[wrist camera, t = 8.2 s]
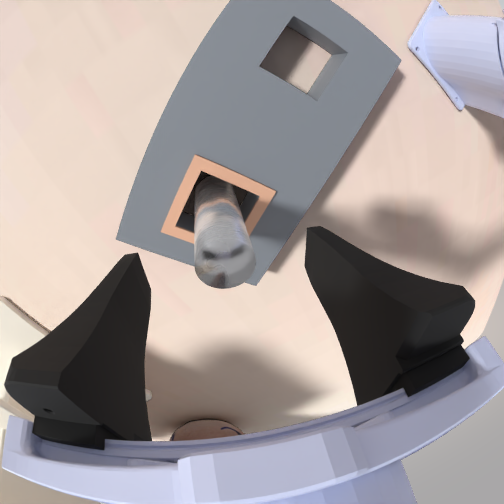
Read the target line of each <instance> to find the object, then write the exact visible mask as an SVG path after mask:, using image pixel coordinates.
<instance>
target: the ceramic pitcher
mask: <svg viewBox="0 0 504 504" xmlns="http://www.w3.org/2000/svg"><path fill="white" fill-rule="evenodd" d="M238 435H244V433H243V432H242V431H241V430H240V429H238V428H237V427H235V426H234V425H231V424H230V423H227V422H224V421H219V420H198V421H191V422H188V423H186V424H185V425H184V426H182V427H180V428H178V429H177V430H176V431H175V432H174V433H173V434H172V437H171V438H170V441H187V440H201V439H213V438H222V437H230V436H238Z"/></svg>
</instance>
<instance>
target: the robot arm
mask: <svg viewBox="0 0 504 504" xmlns="http://www.w3.org/2000/svg"><path fill="white" fill-rule="evenodd" d="M503 13H504V9H503ZM408 47H409V49H410V50H411V51H412V52H413V53H414V54H415V55H416V56H417V58H418V59H419V60H420V61H421V62H422V63H423V64H424V66H425V67H426V68H427V69H428V70H429V71H430V73H431V74H432V75H433V76H434V78H435V79H436V80H437V81H438V83H439V84H440V85H441V87H442V88H443V89H444V91H445V92H446V93H447V95H448V96H449V97H450V99H451V100H452V102H453V103H454V105H455V106H456V107H457V109H459V110H462V109H463V107H464V105H467V106H471V107H474V108H477V109H480V110H483V111H486V112H488V113H491V114H494V115H496V116H499V117H502V118H504V18H501V17H491V16H474V15H449V14H448V13H447V12H446V11H445V9H444V8H443V7H442V6H441V5H440V4H439V2H438V1H436V0H432V1H431V3H430V5H429V6H428V8H427V10H426V12H425V13H424V15H423V17H422V19H421V20H420V22H419V24H418V26H417V27H416V29H415V31H414V32H413V34H412V36H411V37H410V39H409V41H408ZM416 49H417V51H416ZM455 98H456V100H455ZM305 268H306V271H307V274H308V277H309V280H310V282H311V285H312V287H313V289H314V291H315V293H316V294H317V296H318V298H319V300H320V302H321V304H322V306H323V308H324V310H325V311H326V313H327V315H328V317H329V319H330V321H331V323H332V325H333V327H334V330H335V332H336V335H337V337H338V340H339V343H340V346H341V348H342V351H343V354H344V357H345V360H346V364H347V367H348V370H349V374H350V377H351V381H352V385H353V389H354V393H355V397H356V402H357V406H356V407H353V408H350V409H347V410H344V411H341V412H338V413H335V414H332V415H329V416H325V417H322V418H318V419H315V420H311V421H307V422H303V423H299V424H295V425H291V426H287V427H282V428H277V429H273V430H267V431H262V432H257V433H251V434H244V435H238V436H230V437H222V438H213V439H201V440H187V441H152V438H151V432H150V427H149V421H148V413H147V405H146V394H145V374H144V359H145V347H146V339H147V332H148V325H149V317H150V310H151V288H150V285H149V283H148V280H147V277H146V274H145V272H144V269H143V266H142V263H141V260H140V257H139V254H138V253H133V254H127V255H124V256H123V257H122V258H121V259H120V260H119V262H118V263H117V264H116V265H115V266H114V267H113V269H112V270H111V271H110V272H109V273H108V275H107V276H106V277H105V278H104V279H103V280H102V282H101V283H100V284H99V285H98V286H97V287H96V289H95V290H94V291H93V292H92V293H91V294H90V295H89V297H88V298H87V299H86V300H85V301H84V302H83V303H82V304H81V305H80V306H79V307H78V308H77V309H76V310H75V311H74V312H73V313H72V314H71V315H70V316H69V317H68V318H67V319H66V320H64V321H63V322H62V323H61V324H60V325H59V326H57V327H56V328H55V329H54V330H53V331H52V332H50V333H49V334H48V335H46V336H45V337H44V338H42V339H41V340H40V341H38V342H37V343H35V344H34V345H32V346H31V347H29V348H28V349H26V350H24V351H23V352H21V353H20V354H18V355H16V356H15V357H13V358H12V360H11V363H10V366H9V369H8V373H7V376H6V379H5V383H4V386H5V389H6V391H7V392H8V394H9V395H10V396H11V397H12V398H13V399H14V400H15V401H16V402H18V403H19V404H20V405H21V406H23V407H24V408H25V409H26V410H28V411H29V412H30V413H32V414H33V415H34V416H35V418H34V422H32V421H30V420H28V419H24V418H21V417H17V416H13V415H9V419H8V424H7V429H6V435H5V442H4V449H3V458H2V468H3V469H5V470H7V471H9V472H11V473H13V474H15V475H17V476H20V477H22V478H24V479H27V480H29V481H31V482H34V483H36V484H39V485H41V486H44V487H47V488H50V489H53V490H56V491H59V492H62V493H66V494H69V495H72V496H76V497H80V498H84V499H88V500H92V501H97V502H102V503H107V504H417V501H416V499H415V496H414V493H413V490H412V488H411V485H410V483H409V480H408V477H407V475H406V472H405V470H404V467H403V465H402V462H401V460H402V459H403V458H406V457H407V456H409V455H411V454H413V453H415V452H416V451H418V450H420V449H422V448H424V447H425V446H427V445H429V444H430V443H432V442H434V441H435V440H437V439H438V438H440V437H441V436H443V435H445V434H446V433H448V432H449V431H451V430H452V429H453V428H455V427H456V426H458V425H459V424H460V423H462V422H463V421H465V420H466V419H467V418H469V417H470V416H471V415H473V414H474V413H475V412H476V411H478V410H479V409H480V408H481V407H483V406H484V405H485V404H486V403H487V402H488V401H490V400H491V399H492V398H493V397H494V396H495V395H496V394H497V393H499V392H500V391H501V390H502V389H503V388H504V363H503V361H502V360H501V358H500V356H499V355H498V353H497V352H496V351H495V349H494V348H493V346H492V345H491V343H490V342H489V340H488V339H487V338H486V336H483V337H481V338H480V339H478V340H477V341H475V342H473V343H472V344H470V345H469V346H468V347H467V348H466V349H465V350H464V349H463V347H462V346H461V344H462V343H463V342H464V340H463V338H462V337H461V335H460V333H461V332H462V330H463V329H464V327H465V325H466V324H467V322H468V321H469V319H470V317H471V315H472V314H473V311H474V308H475V300H474V299H473V297H472V296H471V295H470V294H469V293H468V292H467V290H466V289H465V288H464V287H463V286H460V285H454V284H449V283H444V282H440V281H436V280H432V279H428V278H425V277H422V276H418V275H415V274H413V273H410V272H407V271H404V270H402V269H399V268H397V267H394V266H392V265H390V264H388V263H386V262H383V261H381V260H379V259H377V258H375V257H373V256H371V255H370V254H368V253H366V252H364V251H362V250H361V249H359V248H357V247H355V246H354V245H352V244H350V243H349V242H347V241H345V240H344V239H342V238H340V237H339V236H337V235H335V234H334V233H332V232H330V231H329V230H327V229H325V228H323V227H321V226H317V227H310V228H307V238H306V253H305Z"/></svg>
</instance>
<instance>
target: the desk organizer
mask: <svg viewBox="0 0 504 504" xmlns="http://www.w3.org/2000/svg"><path fill="white" fill-rule="evenodd" d="M48 334H49V332H48V331H46V330H45V329H43V328H42V327H41V326H39V325H38V324H37V323H35V322H34V321H33V320H31V319H30V318H29V317H28V316H26V315H25V314H24V313H23V312H21V311H20V310H19V309H18V308H16V307H15V306H14V305H13V304H12V303H11V302H9V301H8V300H7V299H6V298H5V297H3V296H0V504H100V502H97V501H92V500H88V499H84V498H80V497H76V496H72V495H69V494H66V493H62V492H59V491H56V490H53V489H50V488H47V487H44V486H41V485H39V484H36V483H34V482H31V481H29V480H27V479H24V478H22V477H20V476H17V475H15V474H13V473H11V472H9V471H7V470H5V469H3V468H2V458H3V449H4V442H5V435H6V429H7V424H8V419H9V415H13V416H17V417H21V418H24V419H28V420H30V421H32V422H34V418H35V416H34V415H33V414H32V413H30V412H29V411H28V410H26V409H25V408H24V407H23V406H21V405H20V404H19V403H18V402H16V401H15V400H14V399H13V398H12V397H11V396H10V395H9V394H8V392H7V391H6V389H5V386H4V383H5V379H6V376H7V373H8V369H9V366H10V363H11V360H12V358H13V357H15V356H16V355H18V354H20V353H21V352H23V351H24V350H26V349H28V348H29V347H31V346H32V345H34V344H35V343H37V342H38V341H40V340H41V339H42V338H44V337H45V336H46V335H48ZM145 394H146V402H147V401H148V400H150V399H151V398H152V395H151V391H150V390H147V389H145Z"/></svg>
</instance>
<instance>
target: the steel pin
mask: <svg viewBox="0 0 504 504" xmlns="http://www.w3.org/2000/svg"><path fill="white" fill-rule="evenodd" d="M194 255H195V271H196V274H197V276H198V277H199V279H200V280H201V281H202V282H204V283H205V284H207V285H209V286H211V287H214V288H221V289H225V288H232V287H236V286H238V285H240V284H242V283H244V282H245V281H246V280H248V279H249V278H250V276H251V275H252V274H253V272H254V270H255V267H256V257H255V254H254V251H253V247H252V244H251V241H250V238H249V235H248V232H247V229H246V226H245V223H244V220H243V217H242V214H241V211H240V208H239V204H238V201H237V198H236V195H235V192H234V189H233V186H232V185H231V183H229V182H227V181H224V180H222V179H220V178H217V177H215V176H210V177H207V178H205V179H203V180H202V181H201V182H200V183H199V184H198V185H197V187H196V190H195V214H194Z"/></svg>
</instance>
